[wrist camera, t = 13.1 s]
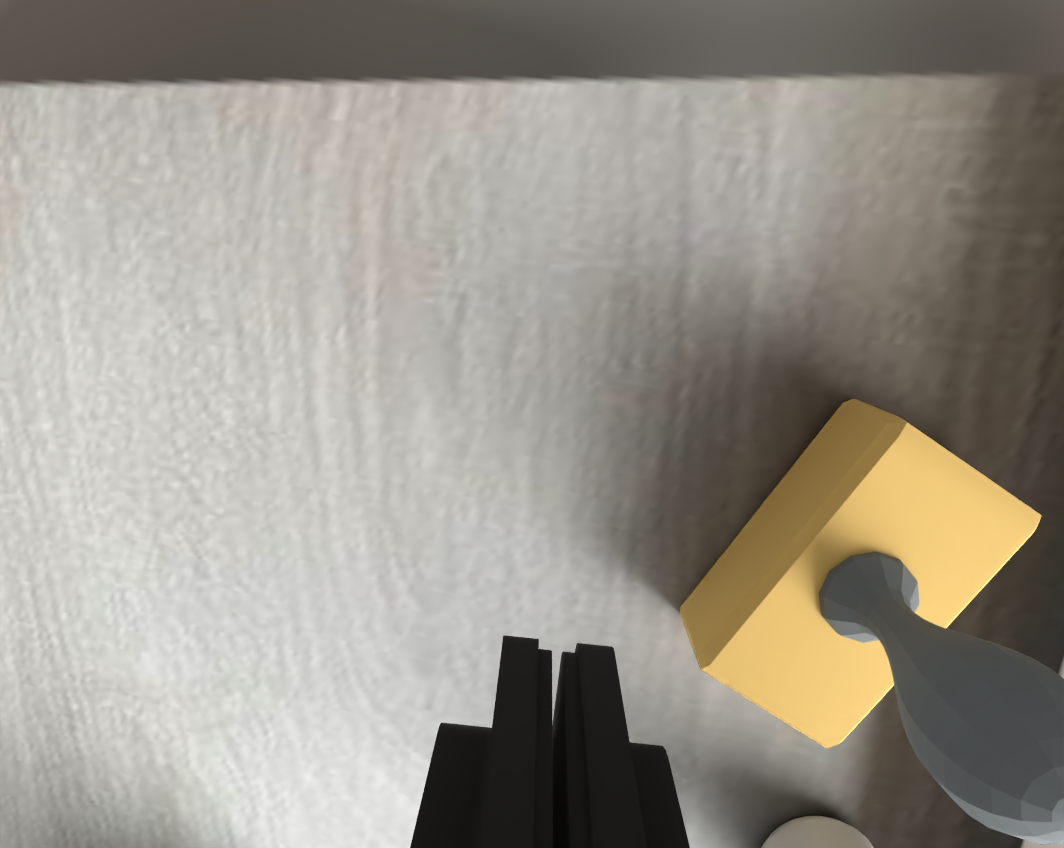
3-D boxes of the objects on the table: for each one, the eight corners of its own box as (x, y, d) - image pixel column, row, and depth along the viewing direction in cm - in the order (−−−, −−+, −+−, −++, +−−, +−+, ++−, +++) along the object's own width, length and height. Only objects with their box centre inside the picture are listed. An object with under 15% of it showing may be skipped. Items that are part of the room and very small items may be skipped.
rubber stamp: (845, 392, 22) (1167, 524, 10) (975, 482, 23) (1420, 703, 11) (673, 609, 24) (781, 922, 12) (796, 687, 25) (1010, 1057, 13)
